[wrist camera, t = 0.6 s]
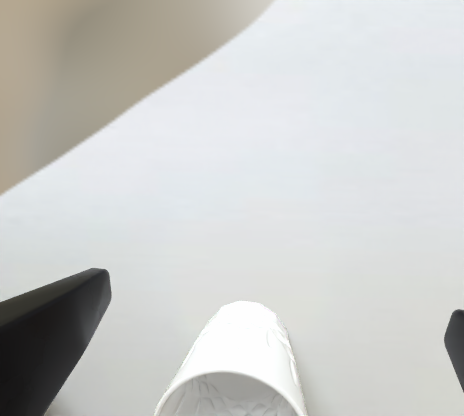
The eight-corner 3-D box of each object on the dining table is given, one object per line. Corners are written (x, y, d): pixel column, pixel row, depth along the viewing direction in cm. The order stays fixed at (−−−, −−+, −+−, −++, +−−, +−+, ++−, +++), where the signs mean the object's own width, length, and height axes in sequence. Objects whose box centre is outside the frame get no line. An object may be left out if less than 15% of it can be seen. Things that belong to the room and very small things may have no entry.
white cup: (300, 299, 23) (322, 382, 14) (291, 395, 24) (306, 541, 14) (201, 287, 24) (153, 356, 14) (195, 380, 25) (145, 506, 15)
